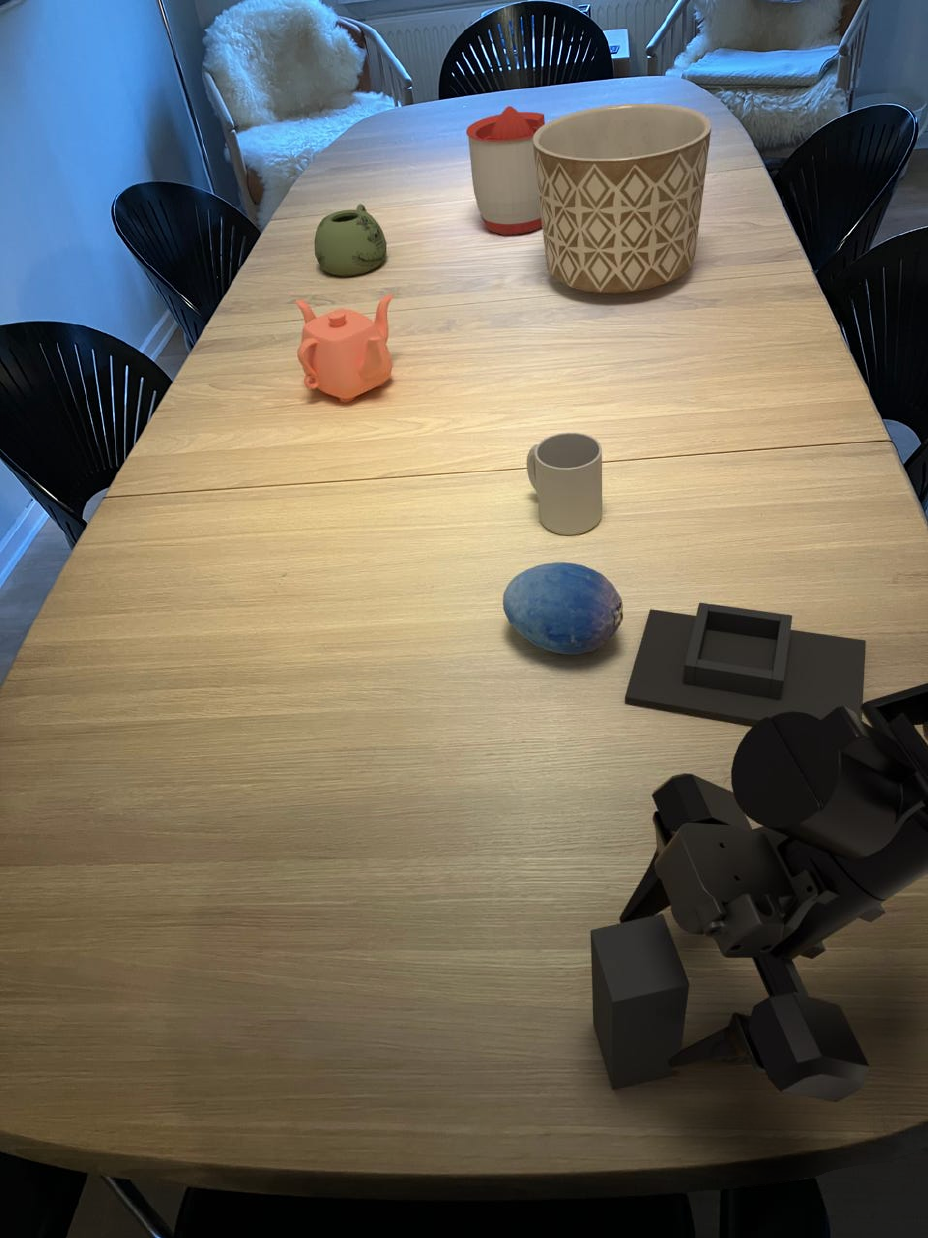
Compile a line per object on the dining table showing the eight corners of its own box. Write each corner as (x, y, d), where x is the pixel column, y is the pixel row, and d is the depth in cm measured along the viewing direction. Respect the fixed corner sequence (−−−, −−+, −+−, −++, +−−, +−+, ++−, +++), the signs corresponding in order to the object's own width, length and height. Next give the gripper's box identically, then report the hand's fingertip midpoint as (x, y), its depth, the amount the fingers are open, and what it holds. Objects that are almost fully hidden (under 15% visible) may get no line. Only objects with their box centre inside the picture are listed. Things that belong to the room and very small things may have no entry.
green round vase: (376, 280, 160) (367, 229, 154) (307, 280, 164) (296, 230, 158) (403, 243, 171) (396, 194, 165) (338, 243, 175) (329, 196, 169)
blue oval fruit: (646, 595, 80) (490, 564, 86) (634, 686, 83) (484, 650, 89) (673, 570, 87) (527, 543, 93) (661, 654, 90) (521, 623, 96)
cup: (572, 544, 102) (569, 477, 96) (509, 509, 108) (503, 444, 102) (615, 514, 105) (615, 447, 99) (552, 482, 111) (549, 417, 105)
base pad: (864, 647, 86) (871, 620, 84) (858, 745, 78) (866, 718, 76) (649, 616, 92) (650, 589, 90) (624, 703, 84) (625, 677, 82)
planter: (645, 230, 163) (648, 92, 148) (734, 280, 145) (749, 128, 130) (513, 269, 157) (503, 129, 142) (589, 326, 139) (587, 173, 124)
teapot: (311, 364, 140) (295, 294, 132) (404, 358, 138) (393, 287, 131) (293, 414, 129) (273, 341, 122) (393, 408, 128) (380, 334, 120)
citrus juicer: (580, 227, 168) (578, 105, 154) (489, 247, 165) (479, 126, 152) (550, 200, 179) (546, 85, 165) (465, 219, 177) (453, 103, 163)
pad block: (655, 1008, 64) (662, 913, 55) (678, 1074, 61) (689, 984, 52) (592, 1023, 64) (590, 929, 55) (612, 1090, 60) (612, 1002, 52)
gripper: (693, 680, 52) (516, 832, 59) (853, 994, 39) (600, 1144, 46) (805, 740, 58) (632, 872, 65) (978, 1031, 45) (737, 1159, 51)
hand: (646, 990), depth 57 cm, fingers open, 9 cm apart
